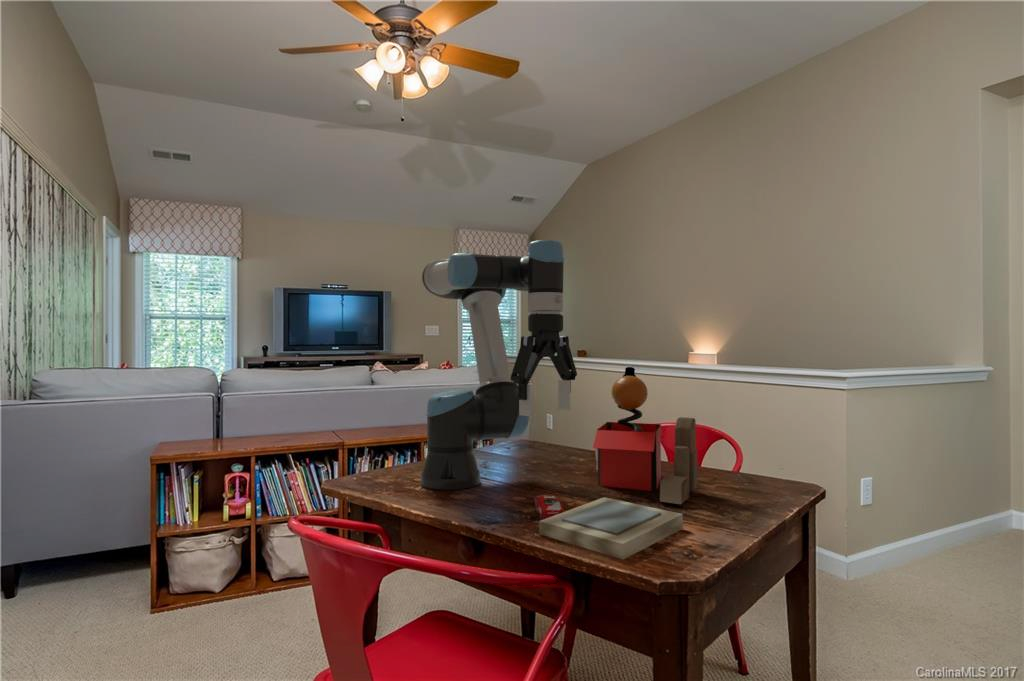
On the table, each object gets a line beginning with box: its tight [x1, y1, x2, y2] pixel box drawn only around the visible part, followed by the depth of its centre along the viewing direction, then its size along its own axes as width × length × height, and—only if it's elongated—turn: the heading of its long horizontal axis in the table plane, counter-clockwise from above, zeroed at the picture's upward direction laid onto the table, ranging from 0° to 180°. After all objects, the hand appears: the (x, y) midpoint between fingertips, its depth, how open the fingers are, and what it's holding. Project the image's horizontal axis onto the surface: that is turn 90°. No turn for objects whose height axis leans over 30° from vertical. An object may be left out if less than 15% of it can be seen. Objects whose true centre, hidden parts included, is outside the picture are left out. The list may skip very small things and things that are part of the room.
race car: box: [533, 494, 565, 521], centre depth 119 cm, size 13×5×4 cm, turn 4°
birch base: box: [538, 496, 684, 560], centre depth 108 cm, size 18×22×3 cm
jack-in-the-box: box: [592, 366, 664, 492], centre depth 148 cm, size 26×16×30 cm, turn 160°
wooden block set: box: [659, 416, 698, 505], centre depth 132 cm, size 17×6×18 cm, turn 150°
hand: (545, 412), depth 122 cm, fingers open, 13 cm apart
